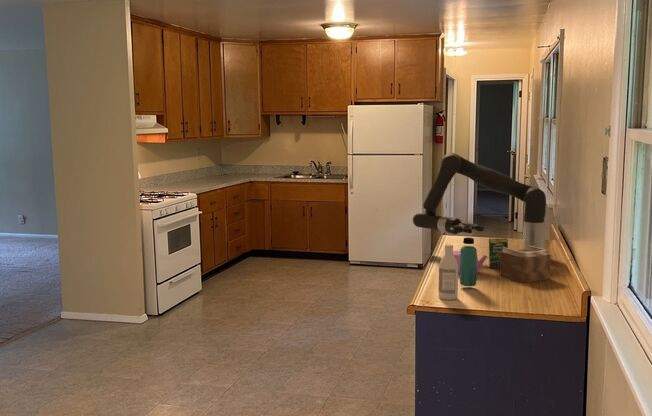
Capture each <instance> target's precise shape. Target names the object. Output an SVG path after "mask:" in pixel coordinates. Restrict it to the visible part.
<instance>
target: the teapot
mask: <svg viewBox="0 0 652 416" xmlns="http://www.w3.org/2000/svg"><path fill="white" fill-rule="evenodd" d="M460 253H461V250H453V255H454V257H455V259H456V260H457V263H458V276H460ZM487 258H488V255H483V256H482V257H481V258H480V259H479V257H478V256H477V258H476V260H477V266H476V267H477V269H476V270H477V271H476V272H477V273H476V276H478V275H479V269H481V268H482V266H483V264H484V262H485V261H486V259H487Z"/></svg>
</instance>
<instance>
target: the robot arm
mask: <svg viewBox="0 0 652 416" xmlns="http://www.w3.org/2000/svg"><path fill="white" fill-rule="evenodd" d="M456 174H459V175H462V176H465V177H467V178H468V179H470V180H471V181H473V182H474V183H476V184H478V185H480V186H482V187H483V188H486V189H488V190H489V191H490V190H491V191H493V192H496V193H500V194H503V195H508V196H510V197H514V198H515V199H518V200H520V201H521V202H524V214H523V227H522V228H523V230H522V231H523V232H522V233H523V234H522V249H525V245H530V246H534V247H538V248H542V249H546V248H545V247H546V237H544V236H545V234H544V233H545V229H544V228H545V217H546V211H547V210H546V208H547V196H546V194H545V192H544V191H543V190H542V189H541V188H539V187H536V186H532V185H528V184H525V183H523V182H520V181H517V180H516V179H514V178H512V177H511V176H508V175H506V174H504V173H502V172H499V171H498V170H495V169H493V168H489V167H487V166H483V165H482V164H477V163H474V162H473V161H470V160H468V159H466V158H465V157H462V156H460V155H459V154H457V153H455V152H449V153H445V155H443V157H442V159H441V163H440V169H439V172H438V175H437V178H436V179H435V181H434V183H433V185H432V186H431V188H430V189H429V192H428V193H427V195H426V197H425V200H424V202H423V204H422V208H423V209H424V210H425V212H424V213H422V212H417V213H416V214H415V215H414V216H413V217H412V223H413V225H414V226H416V227H417V228H423V229H429V230H430V229H431V230H434V231H439V232H442V233H448V234H450V235H451V234H452V235H458V234H460V233H462V234H464V233H466V234H472V233H473V231H476V232H477V231H478V232H484V229H485V228H484V226H481V225H479V223H471V222H467V223H466V222H462V220H461V219H460V218H456V217H450V216H443V215H442V216H440V215H437V210H438V208H439V206H440V204H441V201H442V200H443V198H444V195H445V192H446V190H447V189H448V186H449V184H450V182H451V181H452V179H453V178H454V176H455V175H456Z"/></svg>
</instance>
